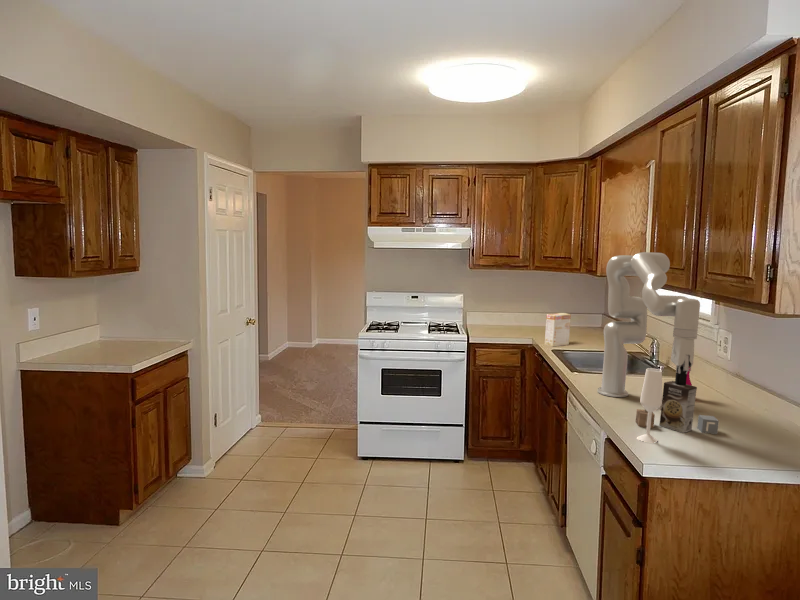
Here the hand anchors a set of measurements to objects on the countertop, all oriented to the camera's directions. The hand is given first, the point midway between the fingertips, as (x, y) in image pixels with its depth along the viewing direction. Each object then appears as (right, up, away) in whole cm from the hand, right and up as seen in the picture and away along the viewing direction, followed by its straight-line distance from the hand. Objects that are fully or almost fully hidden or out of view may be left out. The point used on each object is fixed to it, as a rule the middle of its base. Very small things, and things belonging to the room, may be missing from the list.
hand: (680, 384), depth 199 cm
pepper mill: (+22, -12, +42) cm, 49 cm away
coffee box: (-1, -16, +2) cm, 16 cm away
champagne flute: (-17, -17, -11) cm, 26 cm away
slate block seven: (+10, -17, 0) cm, 19 cm away
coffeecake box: (-2, +2, +150) cm, 150 cm away
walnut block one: (-11, -16, +4) cm, 19 cm away
